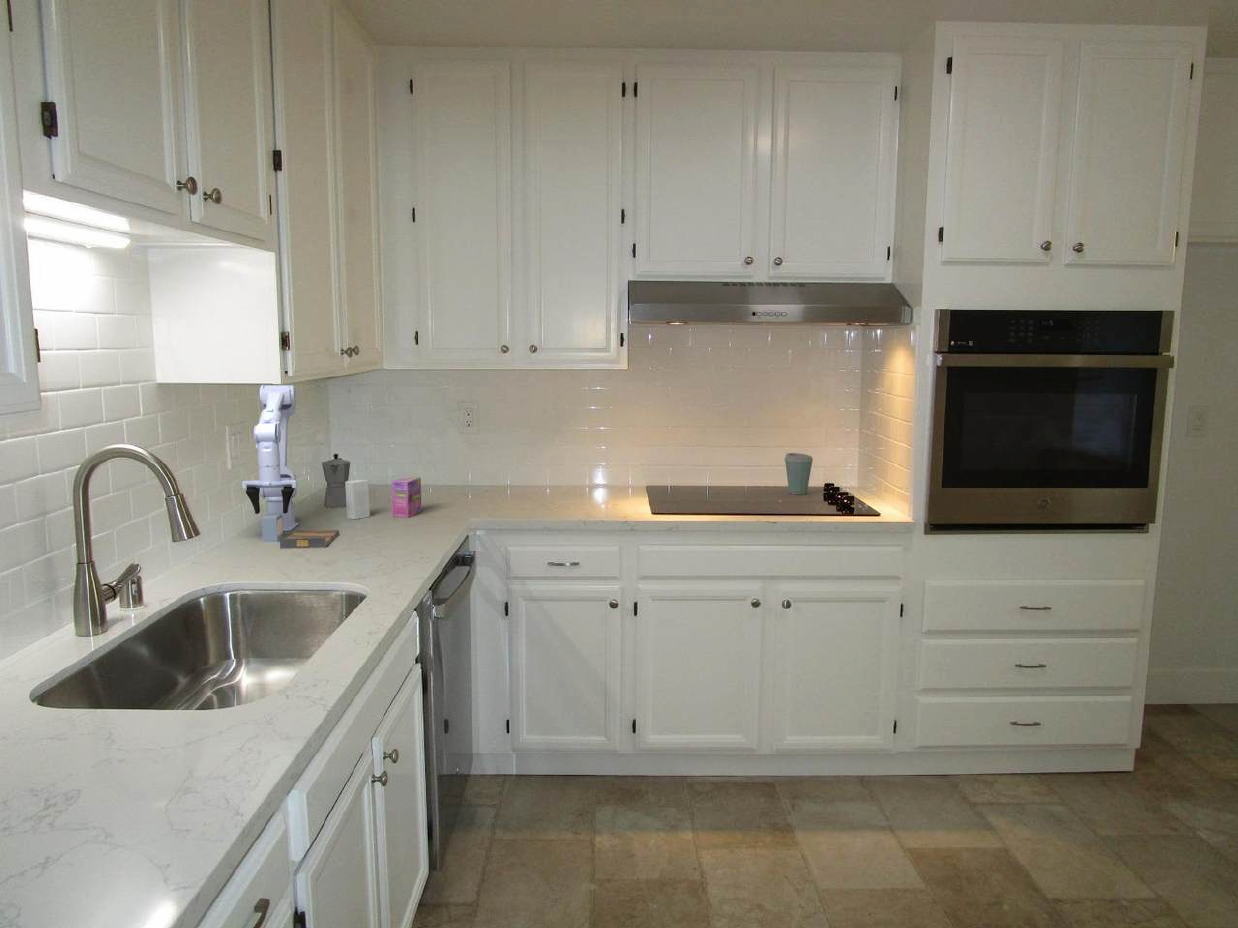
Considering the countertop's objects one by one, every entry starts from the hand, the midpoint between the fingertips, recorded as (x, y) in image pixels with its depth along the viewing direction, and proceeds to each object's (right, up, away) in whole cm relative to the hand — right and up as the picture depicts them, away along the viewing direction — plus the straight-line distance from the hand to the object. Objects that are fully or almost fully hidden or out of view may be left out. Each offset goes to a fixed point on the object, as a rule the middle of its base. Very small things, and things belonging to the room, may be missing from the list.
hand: (271, 513), depth 243 cm
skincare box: (+15, -4, +33) cm, 36 cm away
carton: (0, -8, +1) cm, 8 cm away
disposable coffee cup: (+166, +3, +81) cm, 185 cm away
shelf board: (+11, -8, 0) cm, 14 cm away
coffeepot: (+1, 0, +54) cm, 54 cm away
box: (+29, -3, +38) cm, 48 cm away
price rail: (+12, -9, -8) cm, 17 cm away
